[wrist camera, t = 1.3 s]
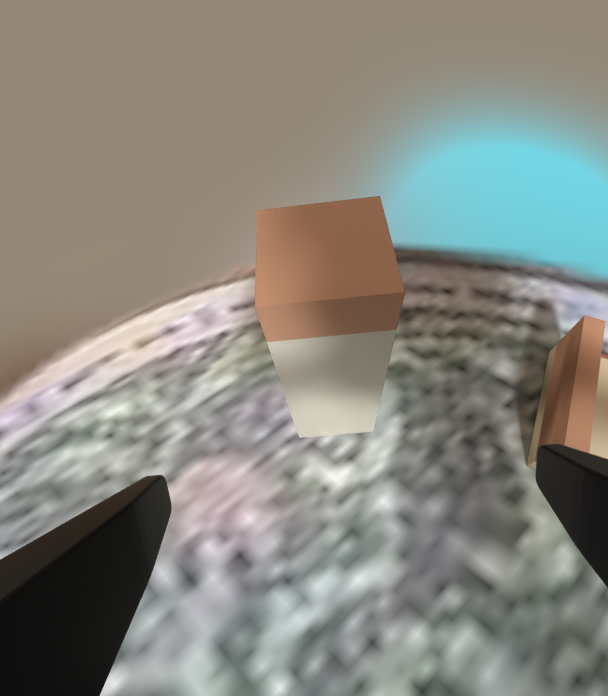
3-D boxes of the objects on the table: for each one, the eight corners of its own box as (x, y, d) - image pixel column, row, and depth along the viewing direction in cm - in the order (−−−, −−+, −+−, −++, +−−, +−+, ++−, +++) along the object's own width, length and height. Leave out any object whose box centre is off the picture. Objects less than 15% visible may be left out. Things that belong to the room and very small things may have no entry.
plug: (373, 431, 22) (404, 291, 11) (299, 437, 22) (254, 307, 11) (362, 366, 24) (379, 196, 13) (296, 372, 24) (256, 210, 13)
